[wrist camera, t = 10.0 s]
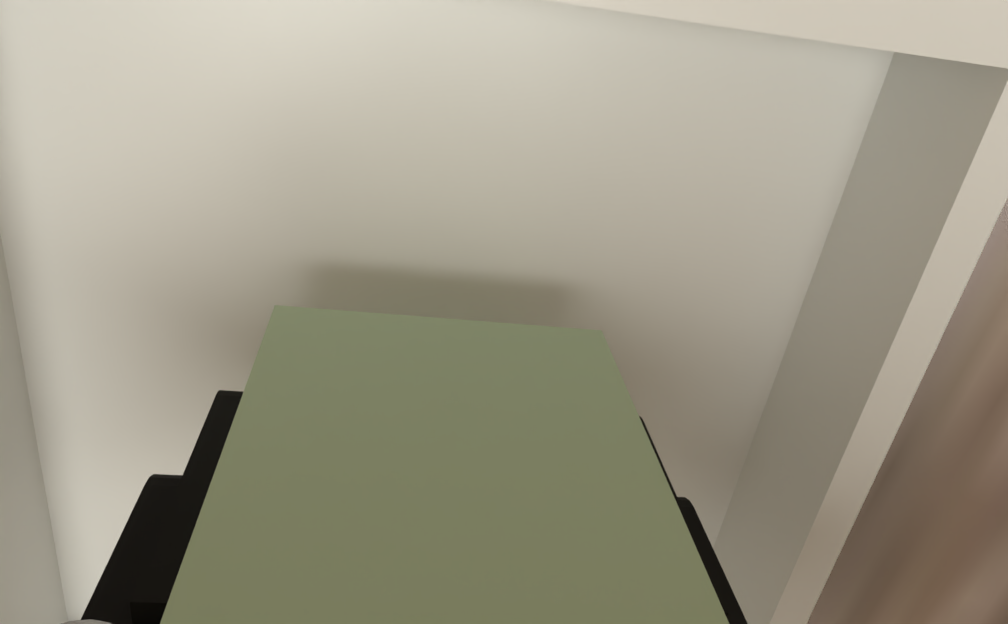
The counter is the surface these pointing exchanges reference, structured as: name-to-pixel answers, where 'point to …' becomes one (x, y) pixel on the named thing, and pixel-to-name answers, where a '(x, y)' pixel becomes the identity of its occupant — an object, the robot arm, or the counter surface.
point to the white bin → (491, 232)
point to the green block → (437, 484)
